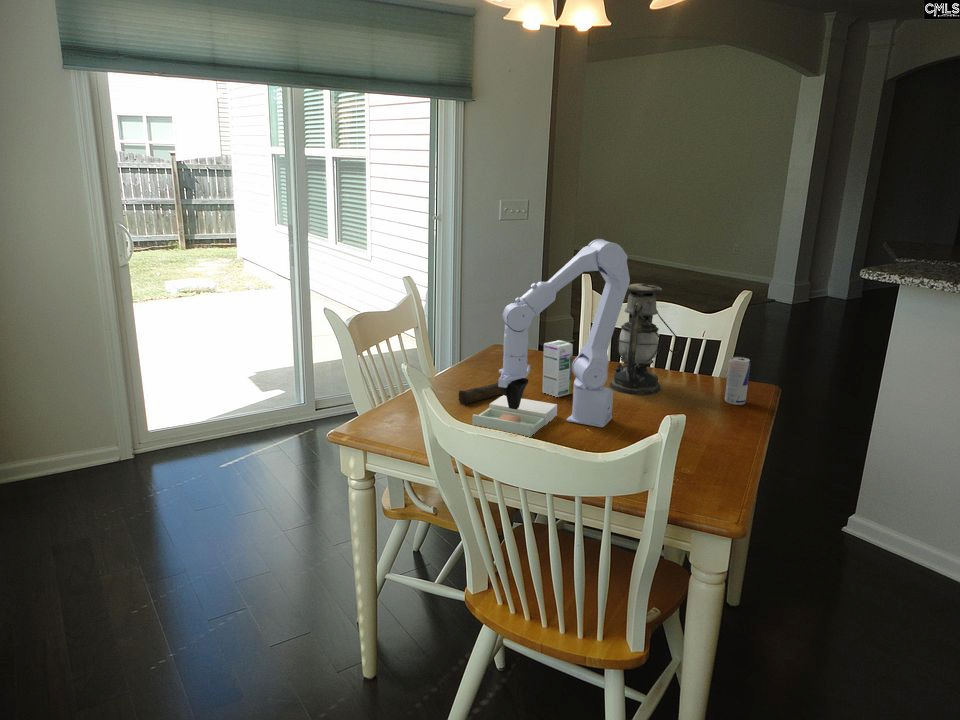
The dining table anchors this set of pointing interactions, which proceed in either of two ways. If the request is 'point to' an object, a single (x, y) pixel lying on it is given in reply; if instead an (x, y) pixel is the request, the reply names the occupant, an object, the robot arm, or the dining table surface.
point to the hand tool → (480, 393)
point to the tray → (509, 422)
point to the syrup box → (557, 368)
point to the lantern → (639, 343)
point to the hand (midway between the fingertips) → (513, 408)
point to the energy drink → (737, 380)
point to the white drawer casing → (527, 408)
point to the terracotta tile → (510, 418)
